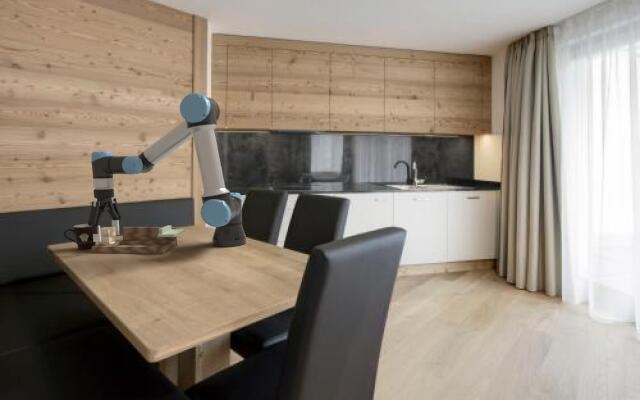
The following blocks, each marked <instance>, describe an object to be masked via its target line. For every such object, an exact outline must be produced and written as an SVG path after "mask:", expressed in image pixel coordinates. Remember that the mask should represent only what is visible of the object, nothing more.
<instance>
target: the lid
mask: <svg viewBox="0 0 640 400" xmlns="http://www.w3.org/2000/svg"><path fill="white" fill-rule="evenodd" d="M162 227H163V228H160V229H159V234H158V237H175V236H177V237H178V236H179V235H182V234H183V233H185V232H186V229H184V228H183V229H182V228H181V229H171V227H172V225H171V224H170V225H169V224H168V225H164V226H162Z"/></svg>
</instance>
